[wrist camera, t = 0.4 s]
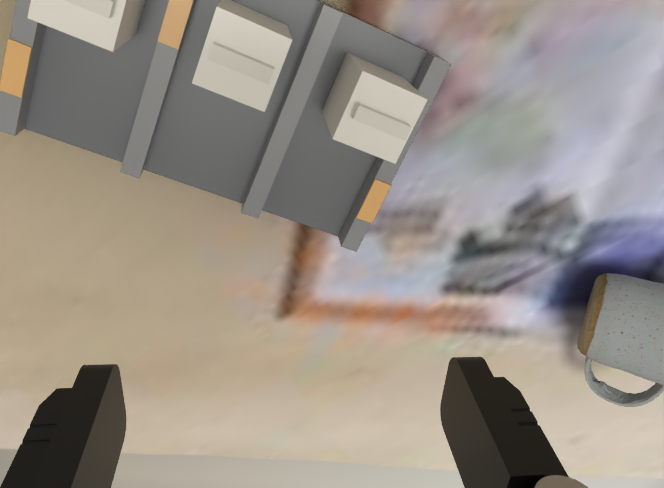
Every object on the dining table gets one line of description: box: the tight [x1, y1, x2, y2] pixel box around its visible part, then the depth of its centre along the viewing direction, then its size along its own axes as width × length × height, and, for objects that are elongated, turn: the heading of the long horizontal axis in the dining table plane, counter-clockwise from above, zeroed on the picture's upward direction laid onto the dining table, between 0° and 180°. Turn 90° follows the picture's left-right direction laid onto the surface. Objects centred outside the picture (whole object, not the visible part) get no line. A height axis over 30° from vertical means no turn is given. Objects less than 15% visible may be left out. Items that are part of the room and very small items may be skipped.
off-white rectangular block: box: [192, 0, 292, 112], centre depth 31 cm, size 4×4×7 cm
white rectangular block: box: [322, 52, 428, 164], centre depth 33 cm, size 4×4×7 cm
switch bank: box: [0, 0, 451, 252], centre depth 35 cm, size 14×24×3 cm, turn 66°
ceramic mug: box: [577, 273, 664, 407], centre depth 44 cm, size 11×8×8 cm
